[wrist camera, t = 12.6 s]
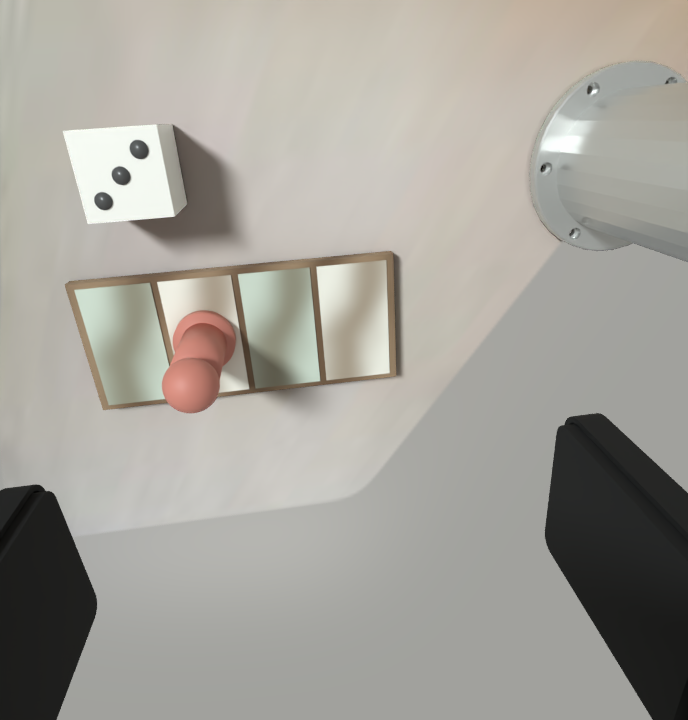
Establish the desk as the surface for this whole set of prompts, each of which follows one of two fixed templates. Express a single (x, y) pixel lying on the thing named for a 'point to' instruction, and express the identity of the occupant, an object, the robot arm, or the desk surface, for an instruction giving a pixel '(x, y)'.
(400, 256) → the desk surface
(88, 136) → the die
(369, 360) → the board
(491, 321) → the desk surface
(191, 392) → the pawn
